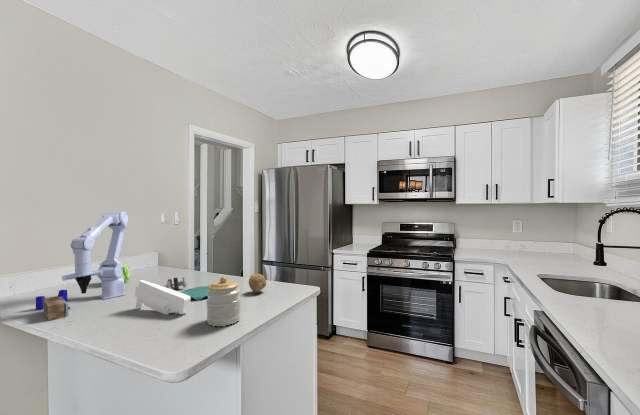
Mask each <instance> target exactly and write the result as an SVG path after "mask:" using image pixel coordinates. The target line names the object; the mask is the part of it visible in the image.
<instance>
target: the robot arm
mask: <svg viewBox="0 0 640 415" xmlns="http://www.w3.org/2000/svg"><path fill="white" fill-rule="evenodd" d="M101 215H102V216H101V219H100V221H98V223H97V224H95V225H94V226H91V227H88V228H87V229H86V231H84V233H82V234H81V235H80V236H79V237H78V236H77V237H75V238H73V239H72V241H71V243H70V249H72V253H73V255H74V273H70V274H65V275H61V280H62V281H63V282H64V281H69V280H73V279H74V280H75V281H76V283H77V285H78V286H79V288H80V292H81V294H82V295H83V294H87V290H88V287H89V284H90V282H91V280H92V277H94V276H97V278H98V279H99V281H101V294H100V295H99V298H101V299H102V300H106V299H112V298H116V297H121V296H125V295H126V293H125V283H124V279H123V278H122V277H121V275H122V272H123V270H122V266H123V264H122V262H121V261H119V258H120V254H121V249H122V245H123V242H124V235H125V231H126V228H127V227H128V222H129V215H128V213H127V212H126V211H124V210H123V211H105V212H104V213H103V214H101ZM106 228H109V229H111V230H112V234H111V238H110V242H109V247H108V250H107V254H106V257H105V258H106V259H105V260H104V261H102V262H100V263H99V267H98V268H97V270H92V262H91V261H92V260H91V249H93V247H94V244H95V242H96V241H97V240H98V239H99V237H101V236H102V231H103V230H104V229H106ZM120 277H121V278H120Z"/></svg>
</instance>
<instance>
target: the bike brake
mask: <svg viewBox="0 0 640 415" xmlns="http://www.w3.org/2000/svg"><path fill="white" fill-rule="evenodd" d="M187 285H188V284H187V282H186V279H185V276H182V280H180V281H179V279H178V277H174V278H173V280H172V278H170V279H167V281H166V284H164V285H162V286H163V287H166V288H169V289H172V290H175V291H179V290H180V286H181V287H183V289H184V288H185V289H186V287H187Z"/></svg>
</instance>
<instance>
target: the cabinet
mask: <svg viewBox="0 0 640 415" xmlns="http://www.w3.org/2000/svg"><path fill="white" fill-rule="evenodd" d="M42 311H43V314H44V316H45V317H46V319H47V321H48V322H51V321H55V320H59V319H63V318H65V316H66V315H65V313H64V302H63V301H62V300H61V299H60V298H59V297H58V295H55V296H51V297H45V298H44V299H43V310H42Z"/></svg>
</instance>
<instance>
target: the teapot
mask: <svg viewBox="0 0 640 415" xmlns="http://www.w3.org/2000/svg"><path fill="white" fill-rule="evenodd" d="M122 270H123V272H122V275H121V277H122V278H123V279H124V284H126V283H128V280H130V279H131V271H130V269H129V267H128V265H127V264H126V263H125V264H123V266H122ZM121 277H120V278H121Z"/></svg>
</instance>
